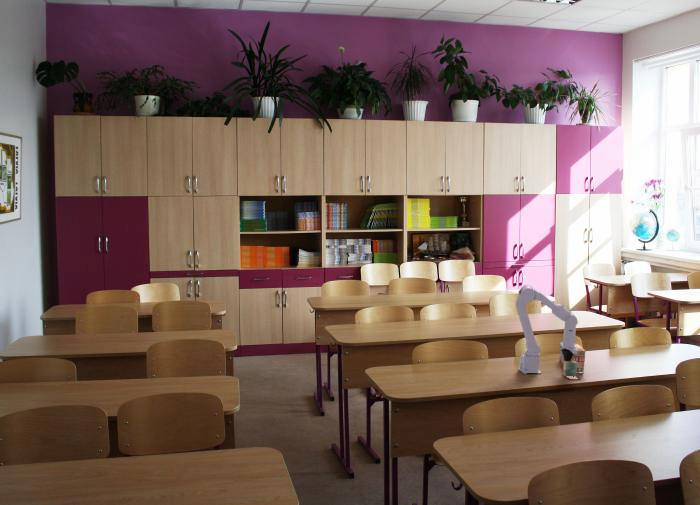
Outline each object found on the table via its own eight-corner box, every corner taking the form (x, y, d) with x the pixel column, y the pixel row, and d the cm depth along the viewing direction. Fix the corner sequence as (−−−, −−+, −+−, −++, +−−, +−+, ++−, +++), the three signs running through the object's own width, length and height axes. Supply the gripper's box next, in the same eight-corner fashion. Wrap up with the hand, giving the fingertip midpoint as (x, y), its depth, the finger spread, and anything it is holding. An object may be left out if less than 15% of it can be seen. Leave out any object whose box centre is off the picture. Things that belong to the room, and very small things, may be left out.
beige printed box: (558, 360, 378) (560, 338, 377) (570, 361, 378) (572, 339, 377) (571, 373, 357) (573, 349, 355) (583, 373, 357) (585, 350, 356)
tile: (565, 376, 350) (566, 362, 349) (562, 374, 353) (563, 361, 352) (576, 375, 351) (577, 362, 350) (573, 374, 354) (574, 360, 353)
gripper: (583, 341, 346) (581, 367, 348) (569, 333, 360) (567, 359, 362) (570, 341, 345) (568, 368, 347) (556, 333, 359) (555, 359, 361)
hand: (567, 363), depth 355 cm, fingers closed
